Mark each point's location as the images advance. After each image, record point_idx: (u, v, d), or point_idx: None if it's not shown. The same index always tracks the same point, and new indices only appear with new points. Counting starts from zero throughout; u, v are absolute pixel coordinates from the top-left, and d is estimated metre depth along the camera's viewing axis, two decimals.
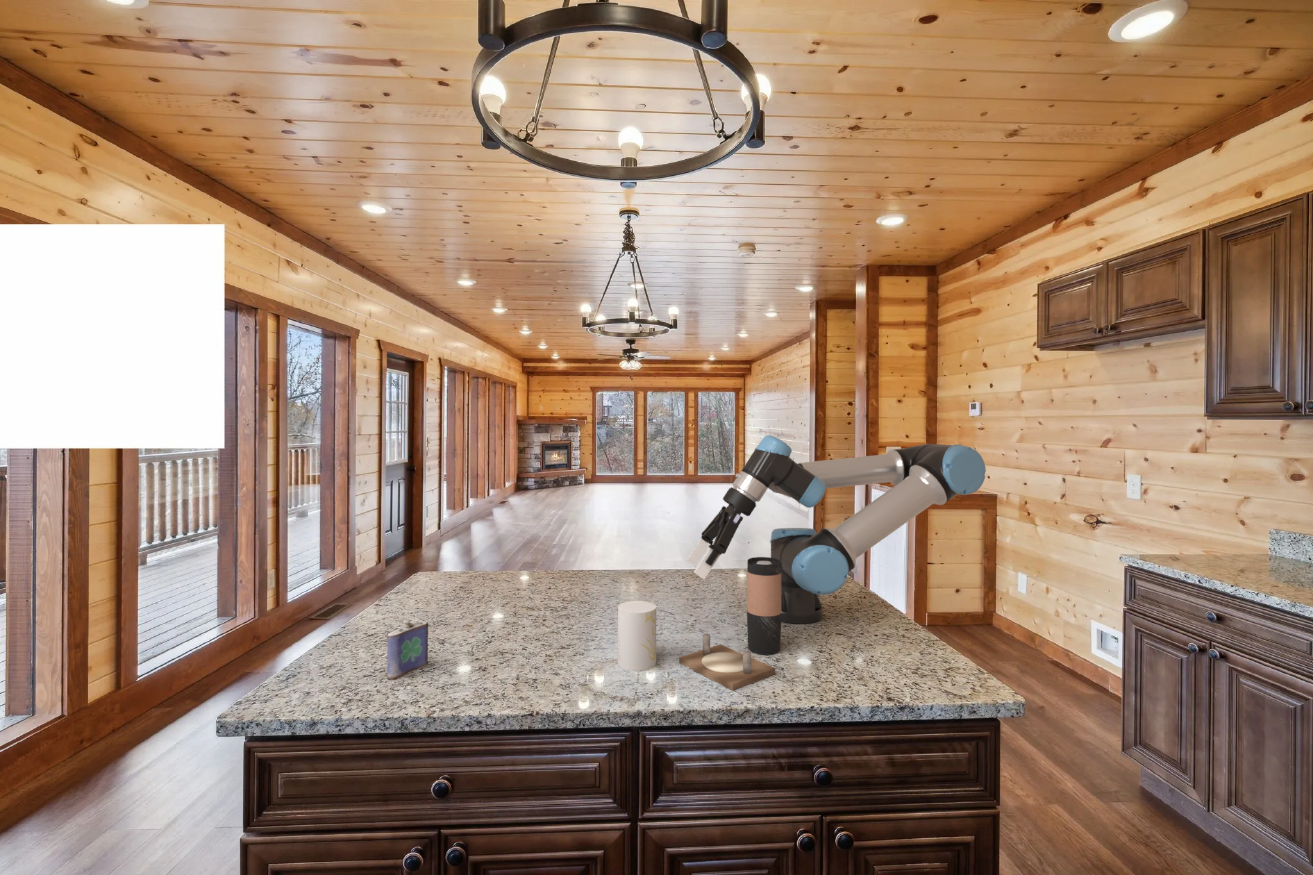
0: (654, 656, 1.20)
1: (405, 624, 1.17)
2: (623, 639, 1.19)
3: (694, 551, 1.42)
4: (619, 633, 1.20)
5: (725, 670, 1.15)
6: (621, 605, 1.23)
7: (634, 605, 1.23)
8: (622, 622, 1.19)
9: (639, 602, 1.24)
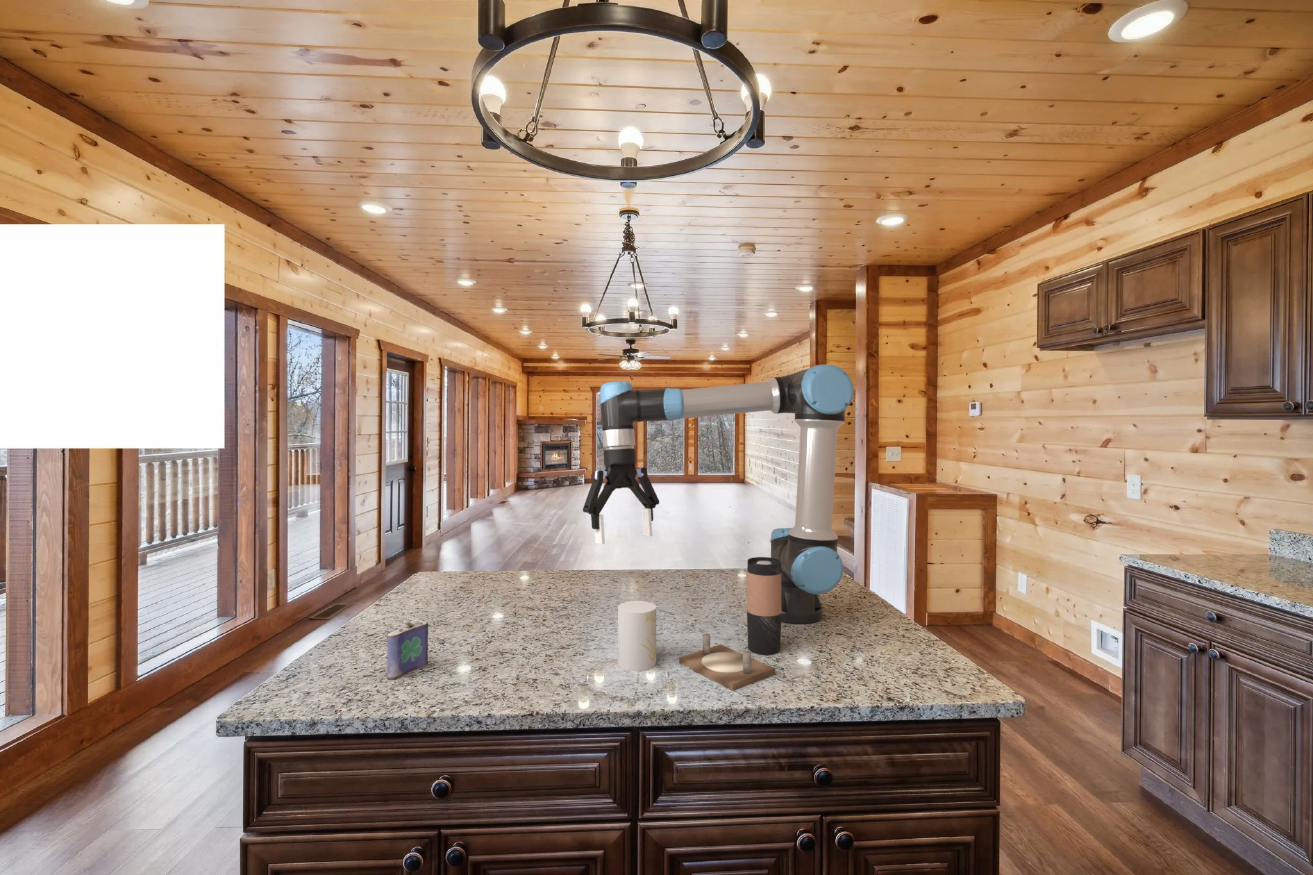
0: (654, 656, 1.20)
1: (405, 624, 1.17)
2: (623, 639, 1.19)
3: (643, 523, 1.39)
4: (619, 633, 1.20)
5: (725, 670, 1.15)
6: (621, 605, 1.23)
7: (634, 605, 1.23)
8: (622, 622, 1.19)
9: (639, 602, 1.24)
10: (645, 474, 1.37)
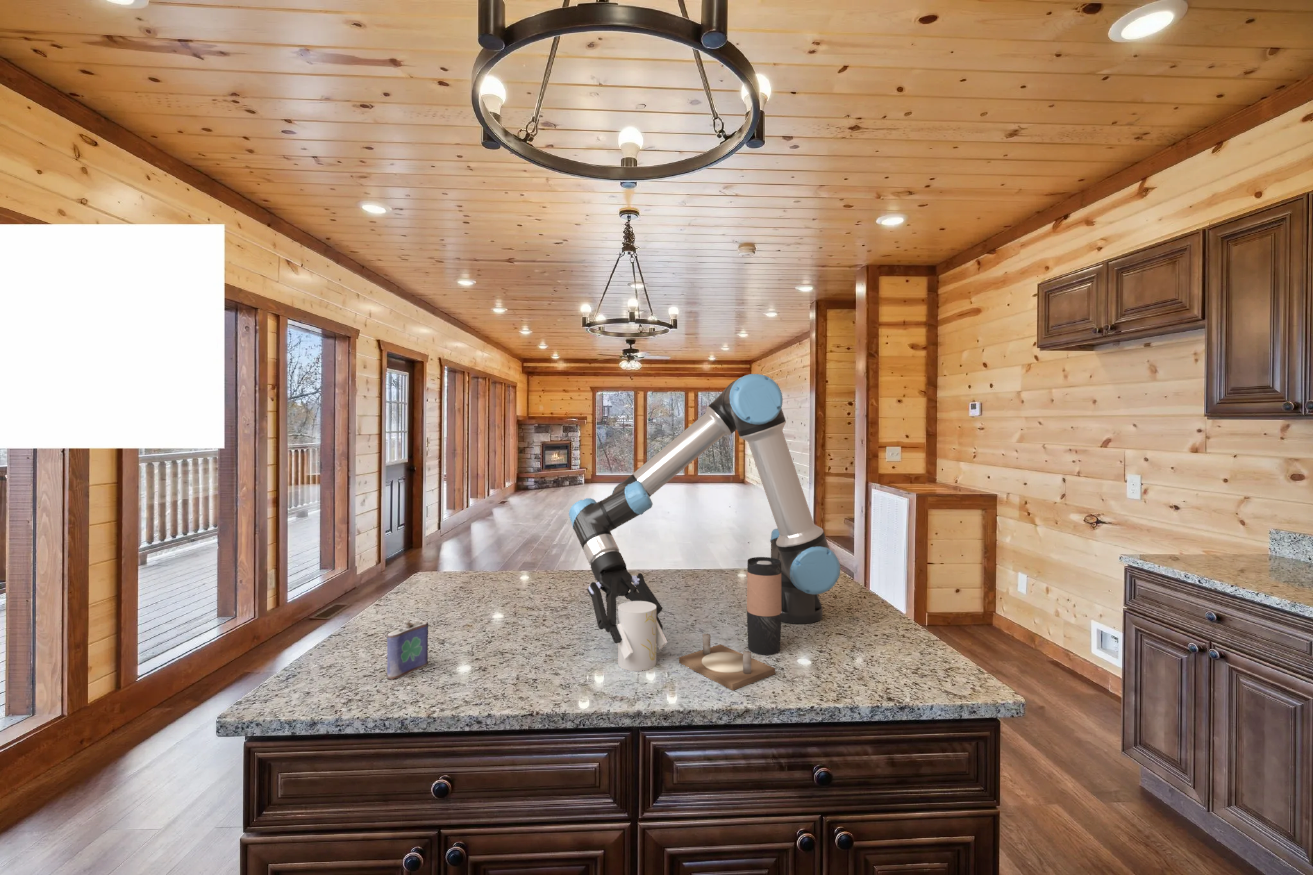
0: (654, 656, 1.20)
1: (405, 624, 1.17)
2: None
3: None
4: None
5: (725, 670, 1.15)
6: (621, 604, 1.23)
7: (634, 605, 1.22)
8: (622, 621, 1.19)
9: (639, 602, 1.24)
10: (641, 579, 1.30)
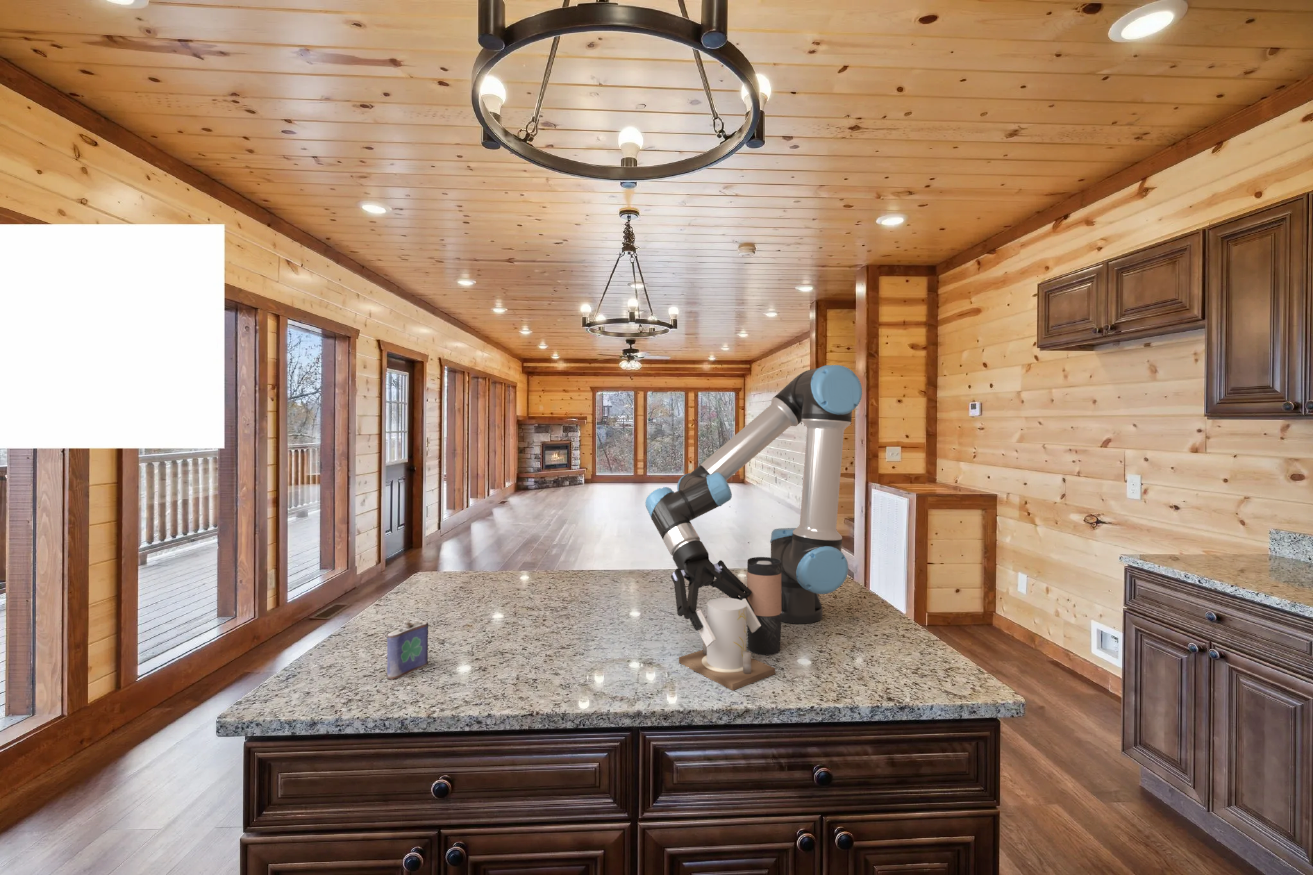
0: None
1: (405, 624, 1.17)
2: (715, 637, 1.16)
3: None
4: None
5: (725, 670, 1.15)
6: (709, 602, 1.20)
7: (723, 602, 1.20)
8: (714, 619, 1.16)
9: (727, 599, 1.22)
10: (724, 566, 1.28)
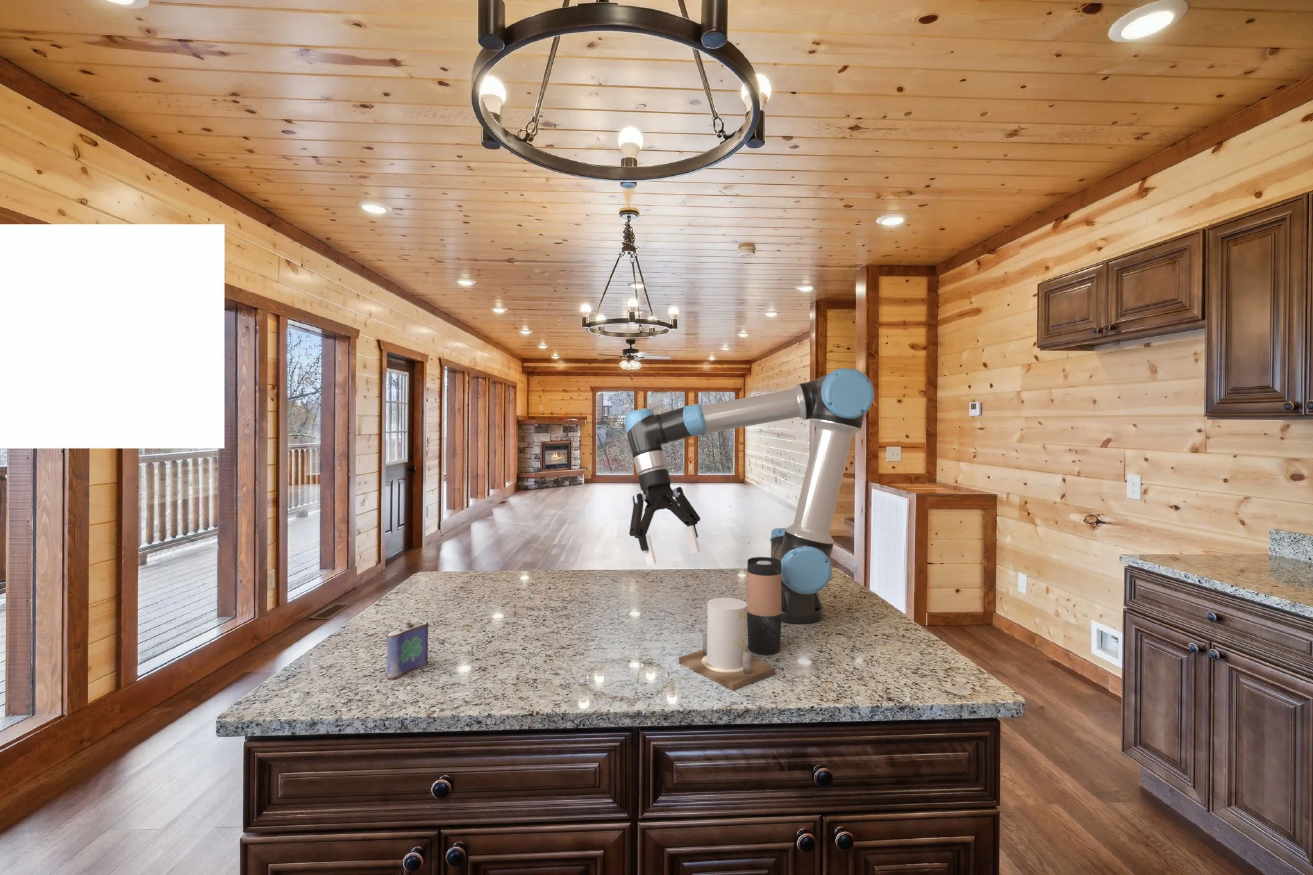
0: None
1: (405, 624, 1.17)
2: (715, 636, 1.16)
3: (688, 541, 1.41)
4: (710, 630, 1.17)
5: (725, 670, 1.15)
6: (710, 601, 1.20)
7: (724, 602, 1.20)
8: (714, 618, 1.16)
9: (728, 599, 1.22)
10: (681, 493, 1.42)
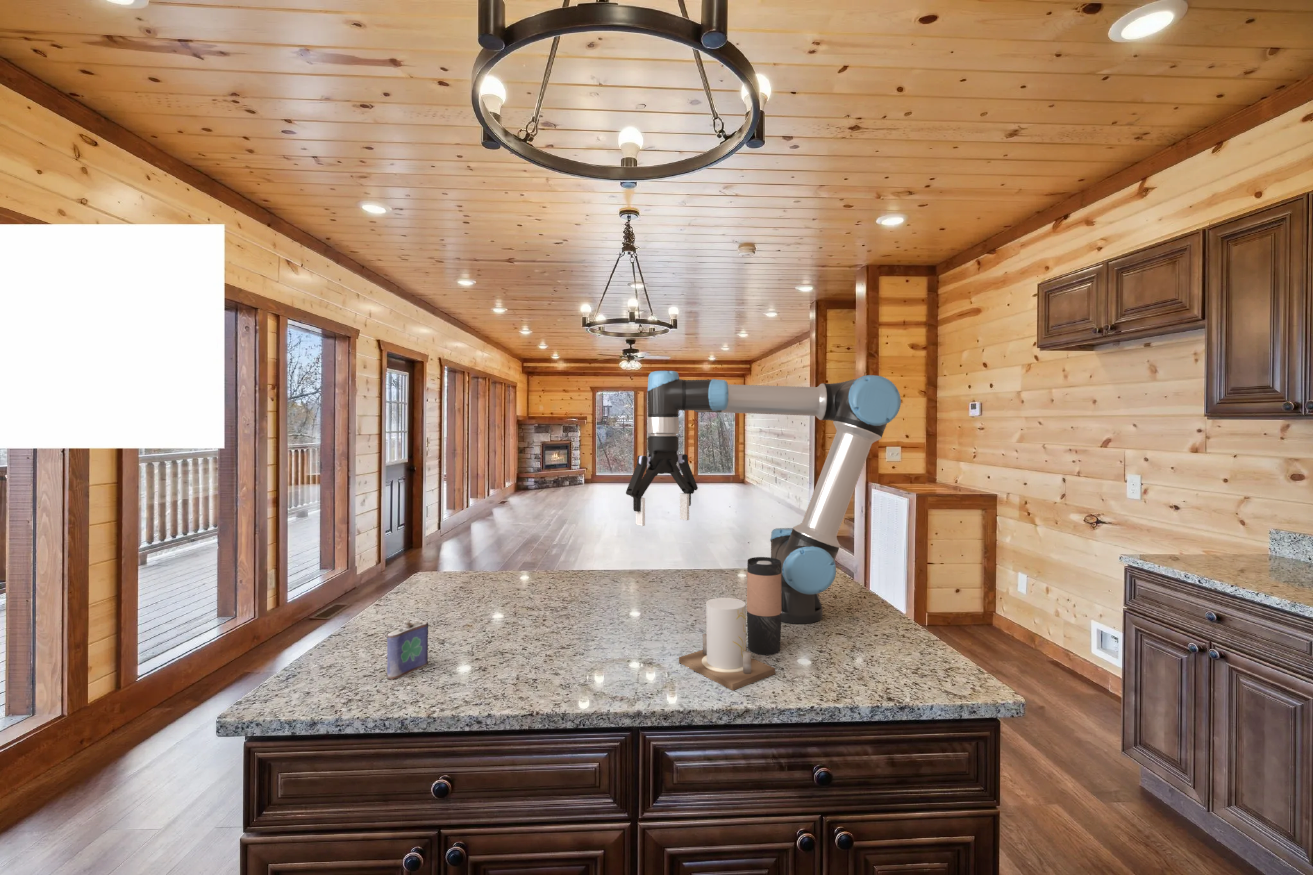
0: None
1: (405, 624, 1.17)
2: (714, 636, 1.16)
3: (680, 507, 1.45)
4: (709, 630, 1.17)
5: (725, 670, 1.15)
6: (709, 601, 1.20)
7: (722, 601, 1.20)
8: (713, 618, 1.16)
9: (726, 599, 1.22)
10: (686, 461, 1.43)
